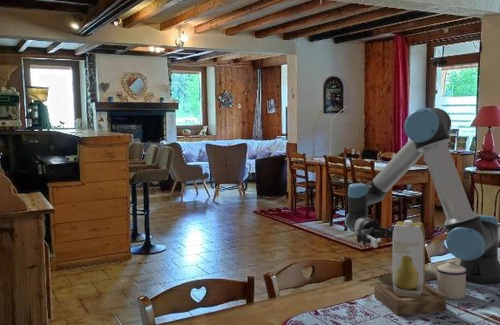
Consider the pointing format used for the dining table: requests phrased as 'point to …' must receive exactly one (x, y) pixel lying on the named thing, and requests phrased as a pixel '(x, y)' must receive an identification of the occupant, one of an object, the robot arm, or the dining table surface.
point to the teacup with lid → (451, 280)
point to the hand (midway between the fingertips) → (395, 242)
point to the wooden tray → (411, 300)
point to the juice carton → (408, 259)
